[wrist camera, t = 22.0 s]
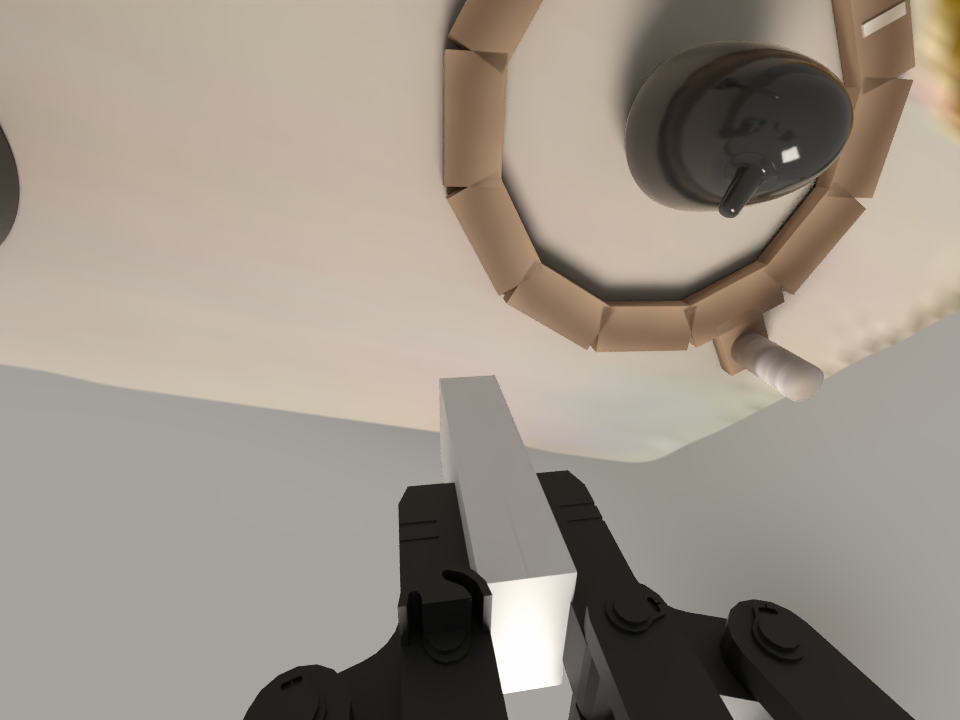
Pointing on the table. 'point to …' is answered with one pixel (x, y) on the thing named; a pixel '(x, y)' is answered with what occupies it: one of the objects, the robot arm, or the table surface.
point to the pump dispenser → (735, 126)
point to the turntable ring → (722, 305)
